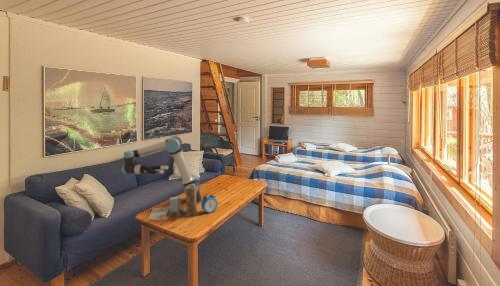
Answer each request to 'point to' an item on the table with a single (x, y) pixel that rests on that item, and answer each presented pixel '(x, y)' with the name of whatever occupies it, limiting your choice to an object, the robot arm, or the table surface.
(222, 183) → the table surface
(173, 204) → the rail end
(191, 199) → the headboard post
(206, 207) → the alarm clock
